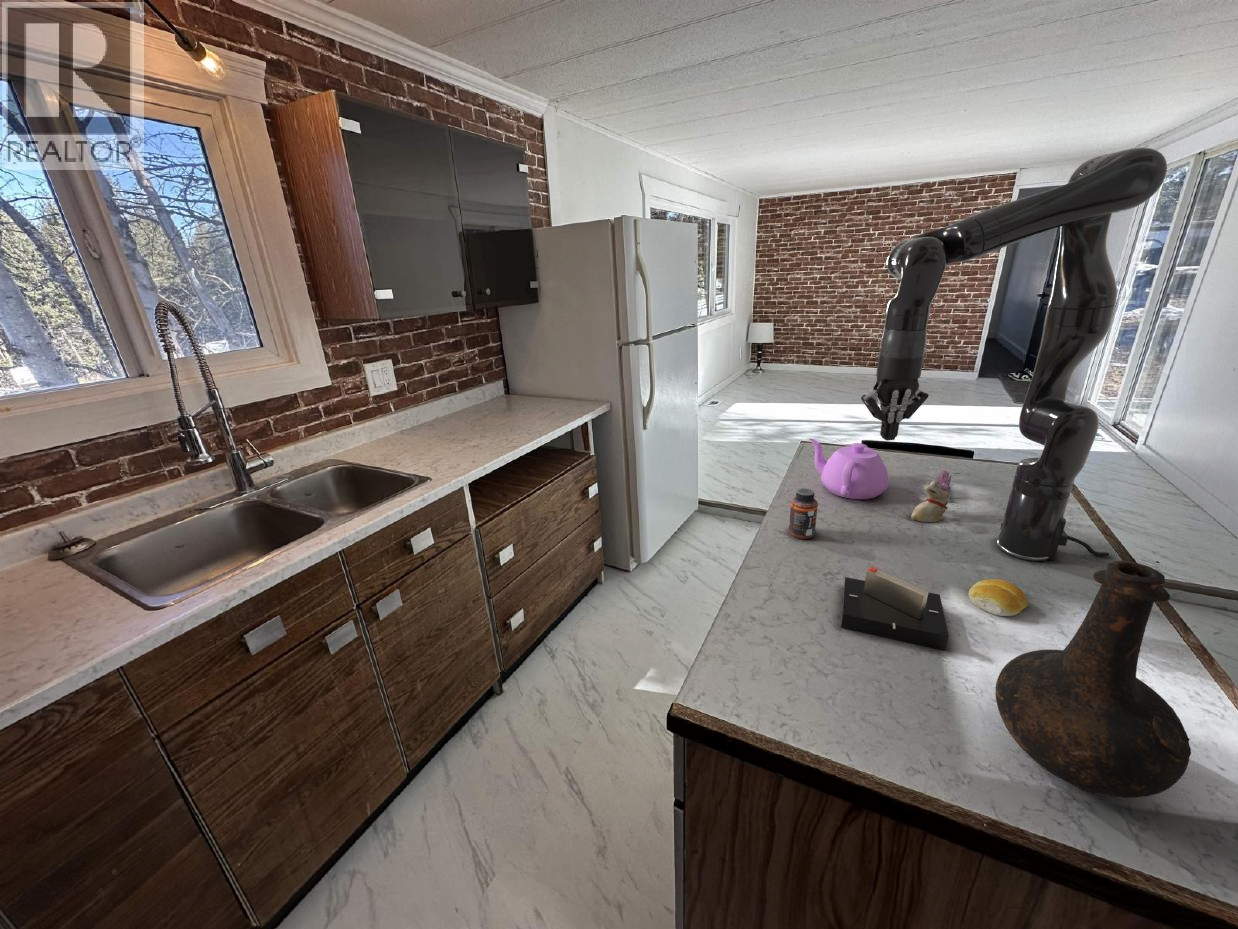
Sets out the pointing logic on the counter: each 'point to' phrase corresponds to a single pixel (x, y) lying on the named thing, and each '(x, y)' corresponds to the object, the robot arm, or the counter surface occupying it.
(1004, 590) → the bread roll
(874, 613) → the black square dial panel
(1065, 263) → the robot arm
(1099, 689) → the brown mottled bulbous container
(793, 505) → the supplement bottle
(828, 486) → the teapot
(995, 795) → the counter surface
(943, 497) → the chocolate bunny
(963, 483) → the counter surface
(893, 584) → the red-tipped beige bar
